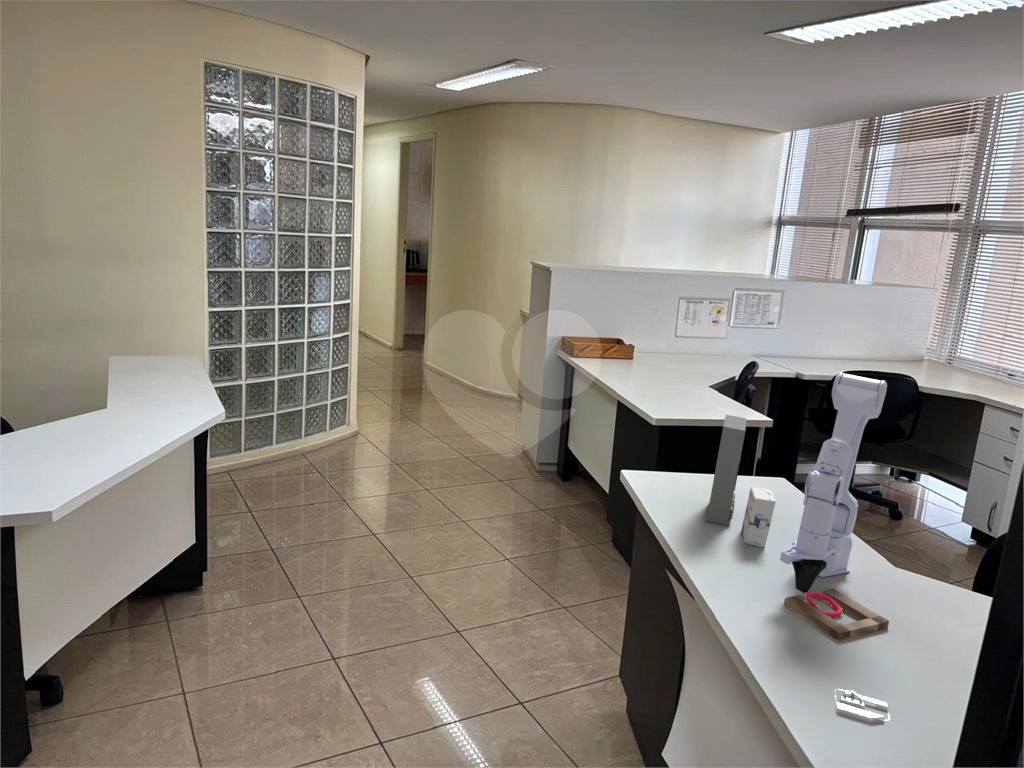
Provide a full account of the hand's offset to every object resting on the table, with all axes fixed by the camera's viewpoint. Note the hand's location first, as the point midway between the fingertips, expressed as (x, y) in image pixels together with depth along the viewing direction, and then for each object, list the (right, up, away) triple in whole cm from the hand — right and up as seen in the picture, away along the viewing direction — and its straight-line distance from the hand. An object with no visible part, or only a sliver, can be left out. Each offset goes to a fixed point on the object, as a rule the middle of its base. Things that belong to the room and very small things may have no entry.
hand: (801, 590), depth 148 cm
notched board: (+4, -3, -7) cm, 8 cm away
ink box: (-1, +5, +26) cm, 27 cm away
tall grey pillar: (-6, +8, +39) cm, 40 cm away
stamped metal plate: (-5, -9, -34) cm, 36 cm away
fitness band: (+3, -3, -4) cm, 5 cm away
